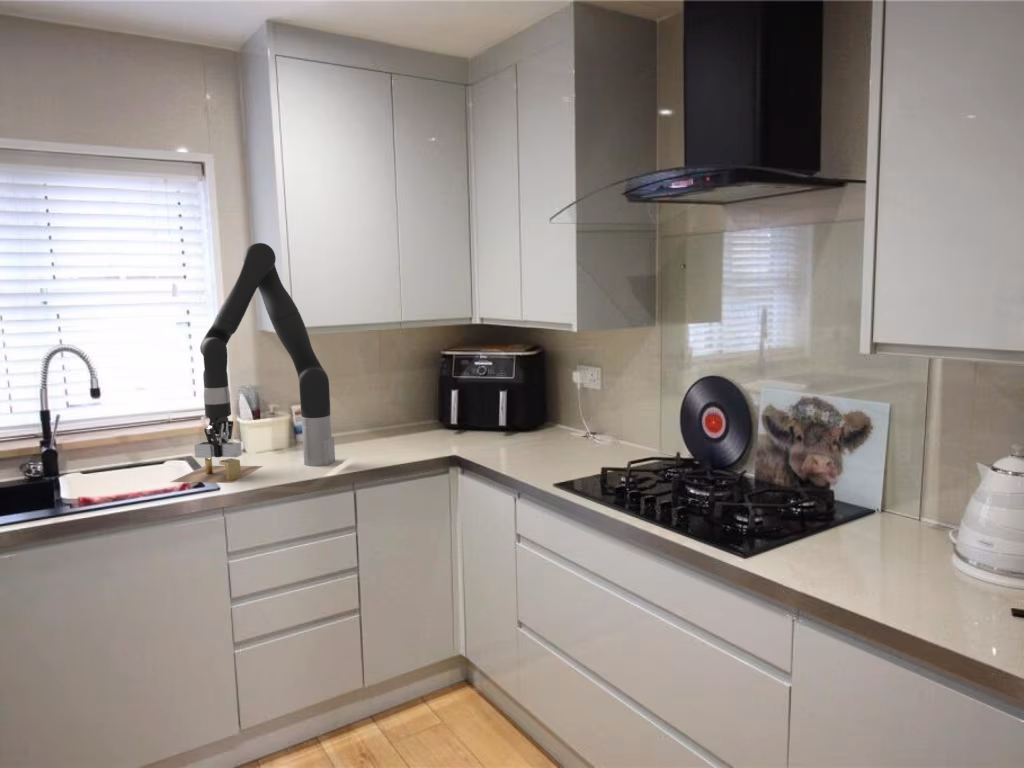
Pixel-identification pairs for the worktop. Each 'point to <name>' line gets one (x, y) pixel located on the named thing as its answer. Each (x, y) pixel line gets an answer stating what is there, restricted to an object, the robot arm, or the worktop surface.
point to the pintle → (208, 465)
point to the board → (214, 475)
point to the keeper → (231, 468)
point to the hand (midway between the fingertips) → (221, 455)
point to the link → (227, 447)
